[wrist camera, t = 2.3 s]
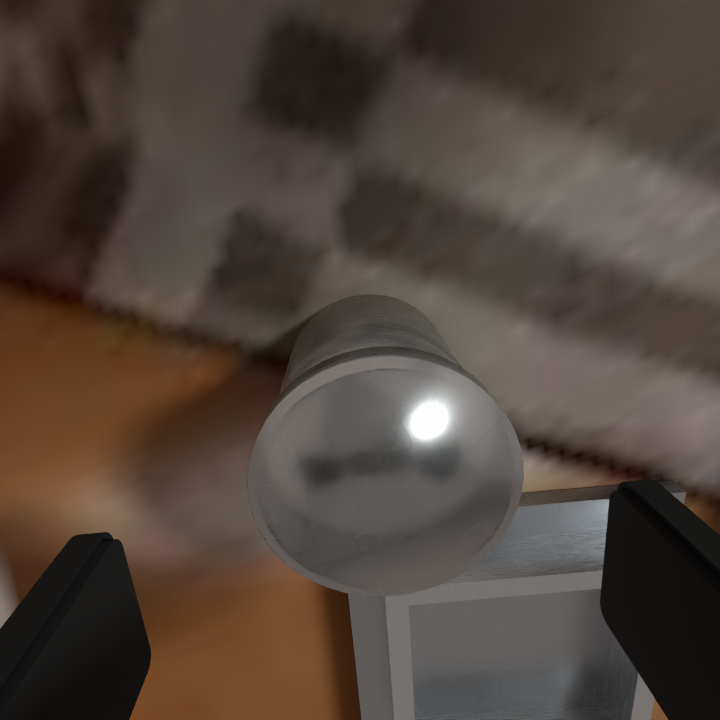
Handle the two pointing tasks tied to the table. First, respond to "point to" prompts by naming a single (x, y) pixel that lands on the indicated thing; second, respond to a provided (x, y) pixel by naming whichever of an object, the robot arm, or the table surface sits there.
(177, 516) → the table surface
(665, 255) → the table surface
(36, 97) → the table surface
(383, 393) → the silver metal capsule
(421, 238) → the table surface
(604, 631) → the duct collar
